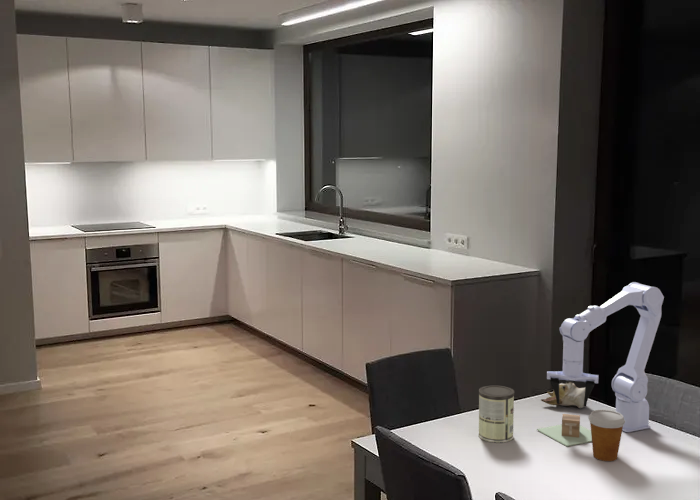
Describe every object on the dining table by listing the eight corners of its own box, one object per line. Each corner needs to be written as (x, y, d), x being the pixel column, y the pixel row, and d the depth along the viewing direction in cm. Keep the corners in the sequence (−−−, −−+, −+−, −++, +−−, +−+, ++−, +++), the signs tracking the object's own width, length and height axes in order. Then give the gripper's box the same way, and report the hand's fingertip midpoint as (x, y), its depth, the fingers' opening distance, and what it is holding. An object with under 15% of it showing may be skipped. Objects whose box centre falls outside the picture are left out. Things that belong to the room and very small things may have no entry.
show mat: (573, 423, 236) (573, 422, 236) (605, 439, 223) (605, 437, 223) (536, 430, 230) (536, 429, 230) (566, 446, 218) (566, 445, 217)
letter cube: (562, 429, 229) (562, 413, 229) (579, 431, 228) (580, 415, 227) (561, 435, 225) (562, 419, 224) (579, 437, 223) (579, 421, 222)
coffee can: (476, 429, 231) (477, 384, 229) (511, 430, 230) (512, 385, 228) (479, 442, 221) (480, 395, 219) (515, 443, 220) (516, 396, 218)
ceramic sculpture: (586, 387, 243) (539, 383, 250) (587, 413, 244) (540, 409, 251) (592, 378, 253) (547, 375, 260) (593, 403, 254) (548, 399, 260)
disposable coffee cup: (616, 466, 204) (618, 423, 202) (582, 458, 209) (583, 416, 208) (628, 455, 211) (630, 413, 210) (594, 447, 217) (595, 406, 215)
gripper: (546, 361, 222) (545, 406, 224) (599, 365, 218) (597, 411, 219) (548, 354, 229) (546, 398, 230) (598, 358, 224) (597, 403, 226)
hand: (571, 404), depth 225 cm, fingers open, 7 cm apart
